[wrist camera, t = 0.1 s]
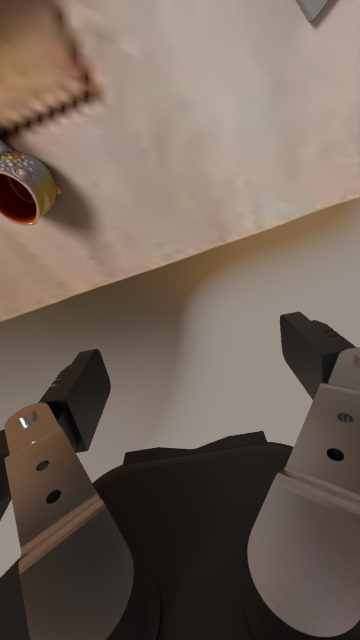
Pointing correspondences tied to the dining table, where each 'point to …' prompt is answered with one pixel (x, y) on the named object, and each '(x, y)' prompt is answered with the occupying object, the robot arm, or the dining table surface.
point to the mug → (24, 187)
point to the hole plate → (311, 7)
